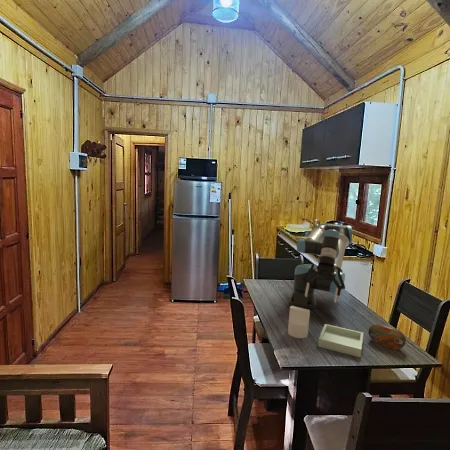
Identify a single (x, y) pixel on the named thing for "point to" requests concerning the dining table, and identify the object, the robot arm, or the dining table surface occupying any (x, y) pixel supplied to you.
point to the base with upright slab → (298, 322)
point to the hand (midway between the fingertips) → (320, 299)
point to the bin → (341, 340)
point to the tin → (387, 336)
